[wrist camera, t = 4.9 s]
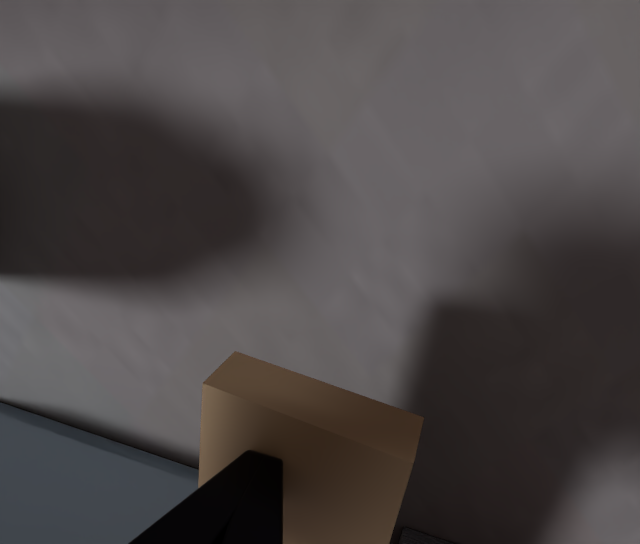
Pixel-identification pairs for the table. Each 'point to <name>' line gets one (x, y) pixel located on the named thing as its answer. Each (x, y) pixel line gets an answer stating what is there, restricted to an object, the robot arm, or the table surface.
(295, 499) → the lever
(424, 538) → the stand
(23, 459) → the bin
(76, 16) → the table surface
